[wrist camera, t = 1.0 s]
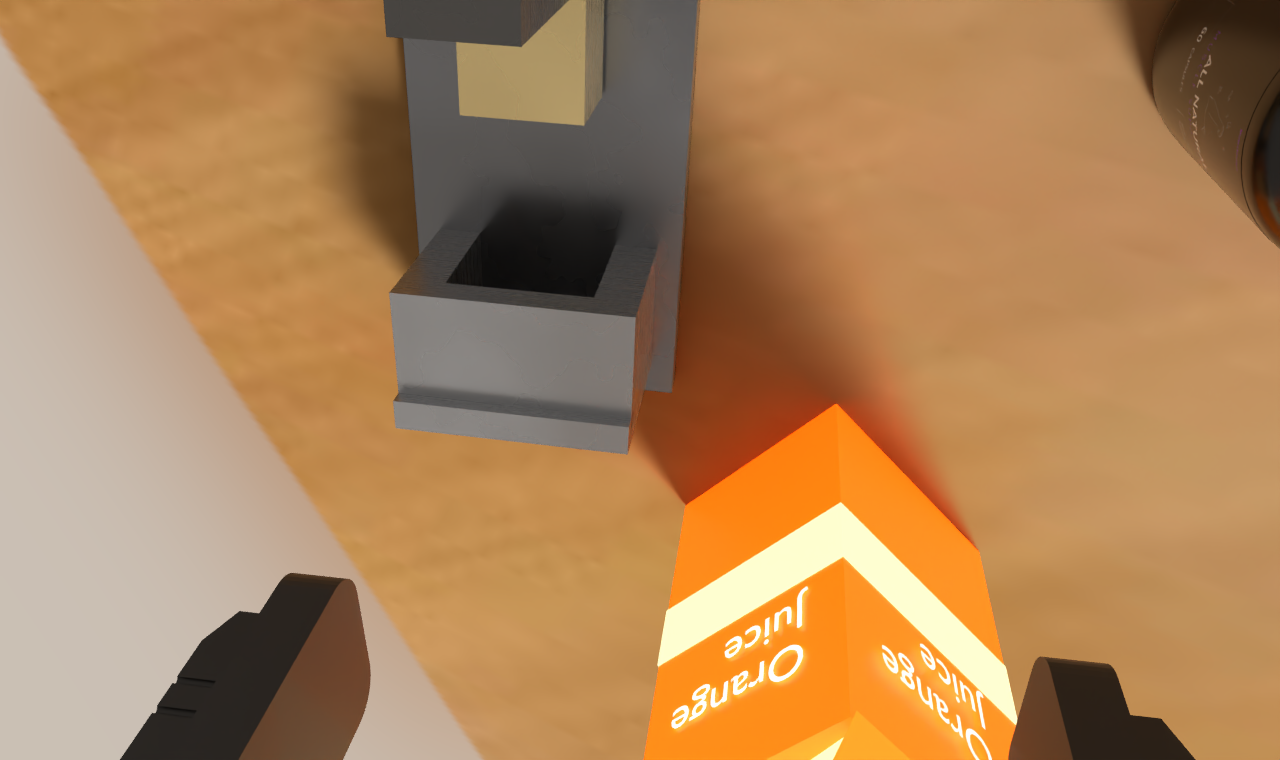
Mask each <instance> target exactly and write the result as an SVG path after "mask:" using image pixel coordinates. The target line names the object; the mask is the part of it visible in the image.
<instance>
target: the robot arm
mask: <svg viewBox="0 0 1280 760" xmlns="http://www.w3.org/2000/svg"><path fill="white" fill-rule="evenodd" d="M370 676H371V675H370V663H369V658H368V651H367V646H366V640H365V635H364V629H363V623H362V617H361V612H360V606H359V600H358V595H357V590H356V587H355V584H354V583H353V581H352V580H350V579H343V578H334V577H325V576H316V575H306V574H297V573H290V574H288V575H286V576H285V577H284V578H283V579H282V580H281V581H280V582H279V584H278V585H277V587H276V588H275V590H274V591H273V593H272V595H271V596H270V598H269V599H268V601H267V603H266V604H265V605H264V607H263V609H262V610H261V612H260V613H251V612H241V611H239V612H238V613H237V614H235V615H234V616H233V617H232V618H230V619H229V620H228V621H226V622H225V623H224V624H223V625H221V626H220V627H219V628H217V629H216V630H215V631H214V632H212V633H211V634H210V635H208V636H207V637H206V638H205V639H203V640H202V641H201V643H200V644H199V646H198V647H197V648H196V650H195V651H194V653H193V654H192V656H191V657H190V659H189V660H188V662H187V663H186V664H185V666H184V667H183V669H182V670H181V672H180V673H179V675H178V676H177V677H178V679H177V682H176V684H174V683H172V685H171V686H170V688H169V689H168V691H167V692H166V694H165V695H164V696H163V698H162V699H161V701H160V702H159V704H158V705H157V711H156V713H152V714H151V715H150V717H149V718H148V720H147V721H146V723H145V724H144V726H143V727H142V729H141V730H140V731H139V733H138V734H137V736H136V737H135V739H134V740H133V742H132V743H131V744H130V746H129V747H128V749H127V750H126V752H125V753H124V755H123V756H122V758H121V759H120V760H343V758H344V756H345V754H346V752H347V750H348V748H349V745H350V743H351V741H352V739H353V737H354V735H355V733H356V730H357V728H358V726H359V724H360V722H361V719H362V717H363V714H364V711H365V708H366V704H367V700H368V695H369V689H370ZM1008 760H1195V759H1194V757H1193V756H1192V755H1191V754H1190V753H1189V751H1188V750H1187V749H1186V748H1185V747H1184V745H1183V744H1182V743H1181V742H1180V741H1179V740H1178V738H1177V737H1176V736H1175V735H1174V734H1173V732H1172V731H1171V730H1170V729H1169V728H1168V726H1167V725H1166V724H1165V723H1164V722H1163V720H1162V719H1159V718H1151V717H1142V716H1133V715H1130V713H1129V710H1128V707H1127V704H1126V701H1125V698H1124V695H1123V692H1122V689H1121V686H1120V683H1119V680H1118V677H1117V674H1116V672H1115V670H1114V669H1113V668H1112V666H1111V665H1109V664H1104V663H1095V662H1085V661H1076V660H1067V659H1058V658H1049V657H1039V658H1038V659H1037V660H1036V661H1035V663H1034V666H1033V669H1032V672H1031V675H1030V679H1029V682H1028V686H1027V689H1026V692H1025V696H1024V699H1023V703H1022V706H1021V710H1020V713H1019V716H1018V720H1017V723H1016V727H1015V730H1014V734H1013V737H1012V741H1011V744H1010V749H1009V755H1008Z"/></svg>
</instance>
